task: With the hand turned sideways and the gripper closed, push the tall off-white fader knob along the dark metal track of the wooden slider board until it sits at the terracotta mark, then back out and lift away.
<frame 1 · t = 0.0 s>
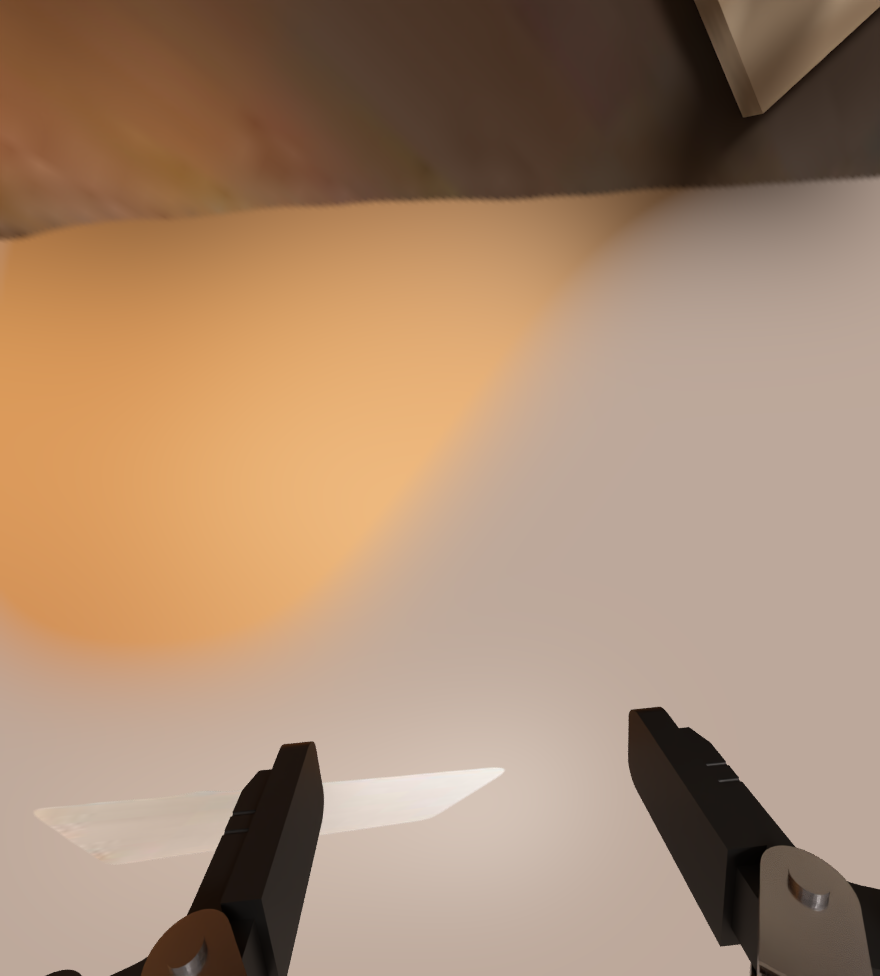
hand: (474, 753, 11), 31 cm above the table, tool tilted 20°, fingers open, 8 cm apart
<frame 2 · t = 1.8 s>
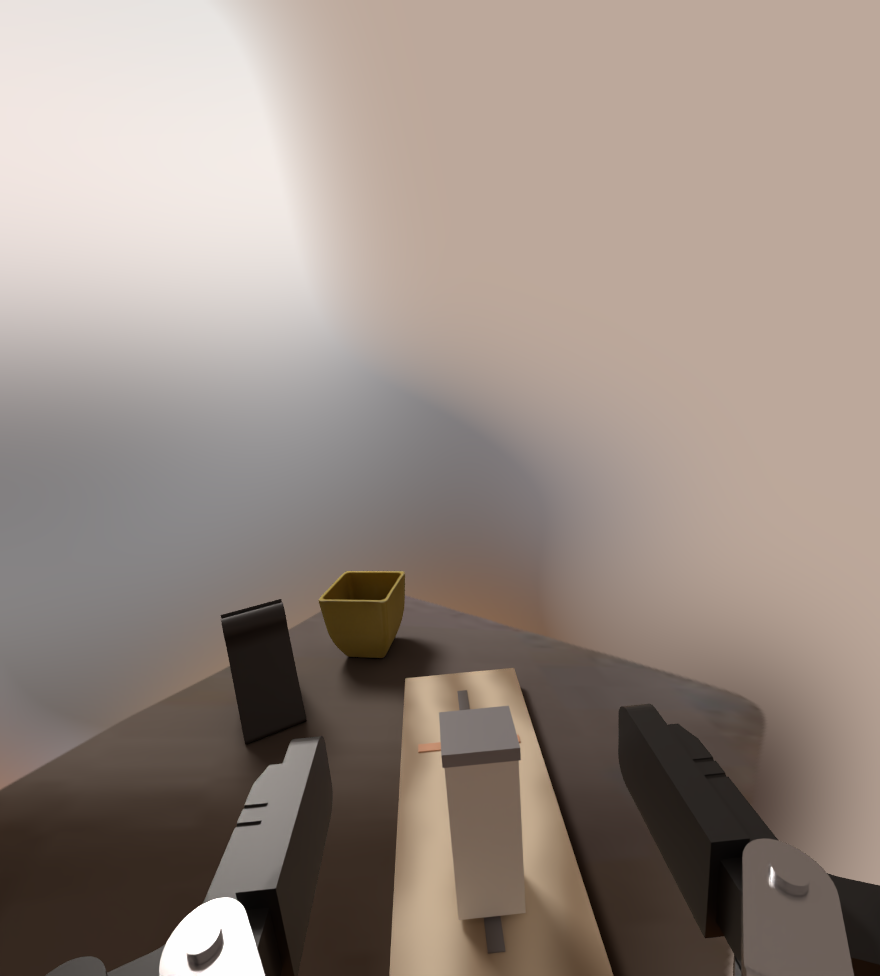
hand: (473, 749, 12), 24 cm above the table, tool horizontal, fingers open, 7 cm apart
flower pot: (371, 648, 60), on the table
phone stand: (271, 709, 50), on the table
wooden slider board: (475, 803, 36), on the table
fader knob: (483, 813, 27), point 8 cm above the table, slide at 0.0 cm
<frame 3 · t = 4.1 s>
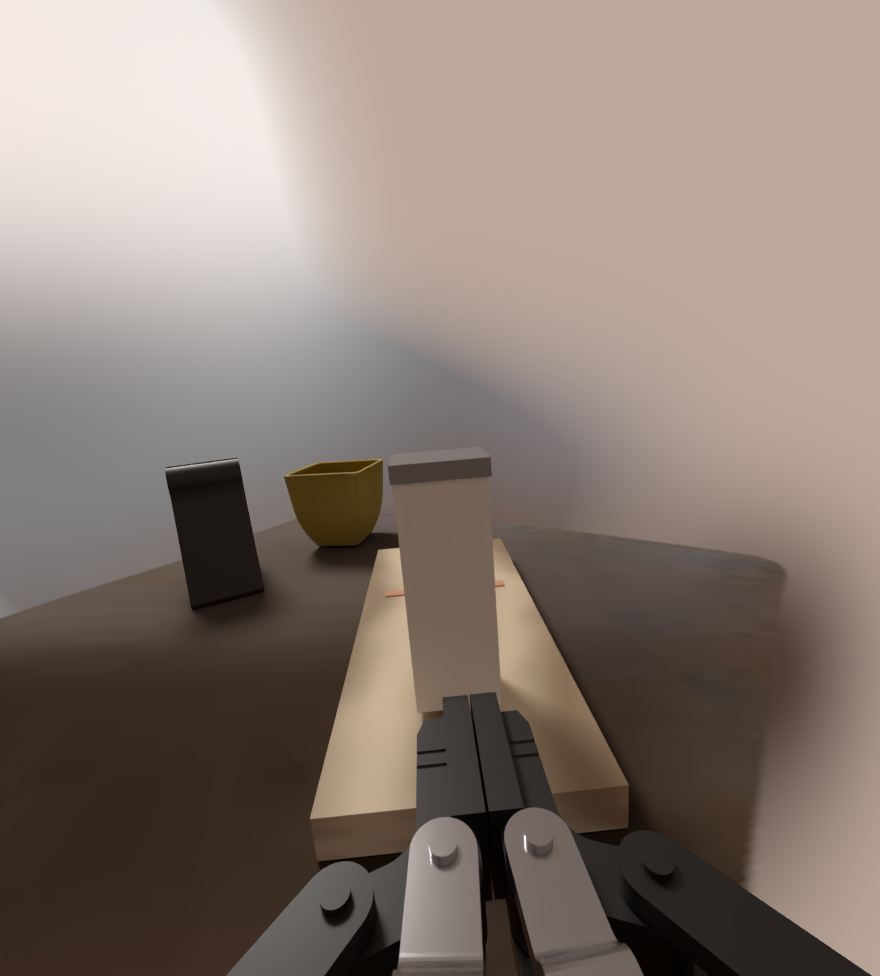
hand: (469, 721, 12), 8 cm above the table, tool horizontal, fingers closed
flower pot: (346, 541, 54), on the table
phone stand: (227, 585, 44), on the table
wooden slider board: (450, 641, 31), on the table
fader knob: (448, 578, 21), point 8 cm above the table, slide at 0.0 cm
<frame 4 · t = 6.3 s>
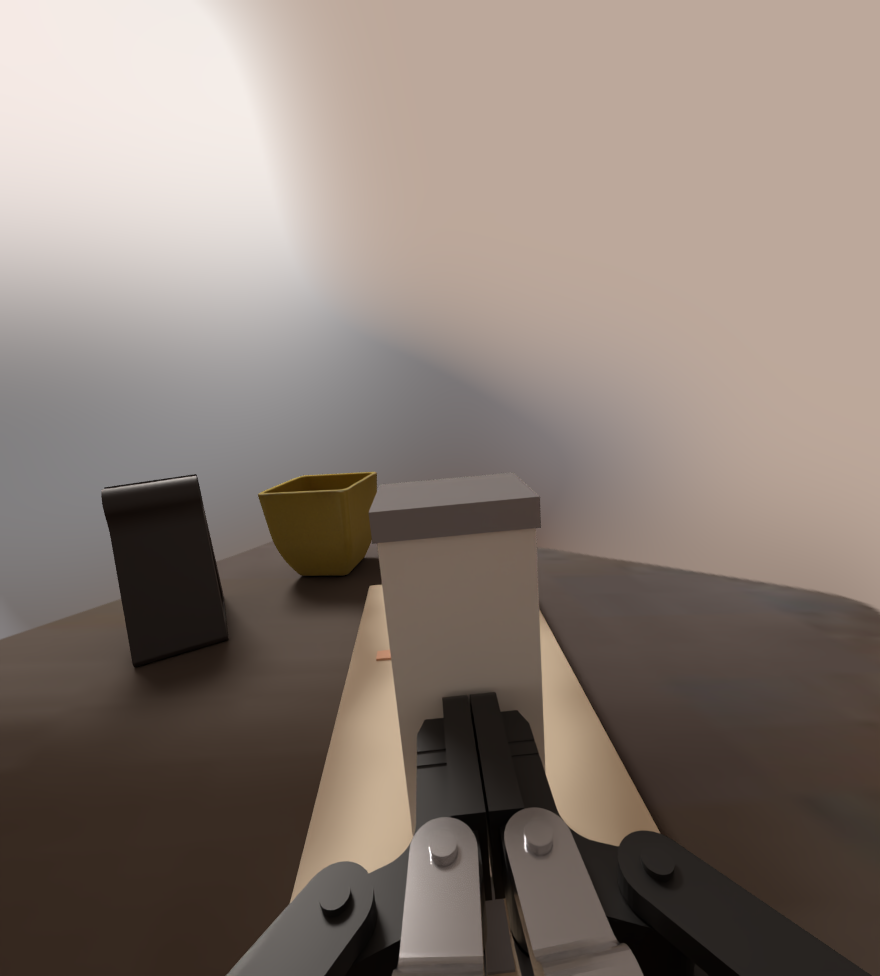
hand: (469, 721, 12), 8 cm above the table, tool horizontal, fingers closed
flower pot: (334, 568, 46), on the table
phone stand: (185, 630, 36), on the table
wooden slider board: (462, 728, 23), on the table
fader knob: (465, 676, 14), point 8 cm above the table, slide at 0.6 cm, touching gripper
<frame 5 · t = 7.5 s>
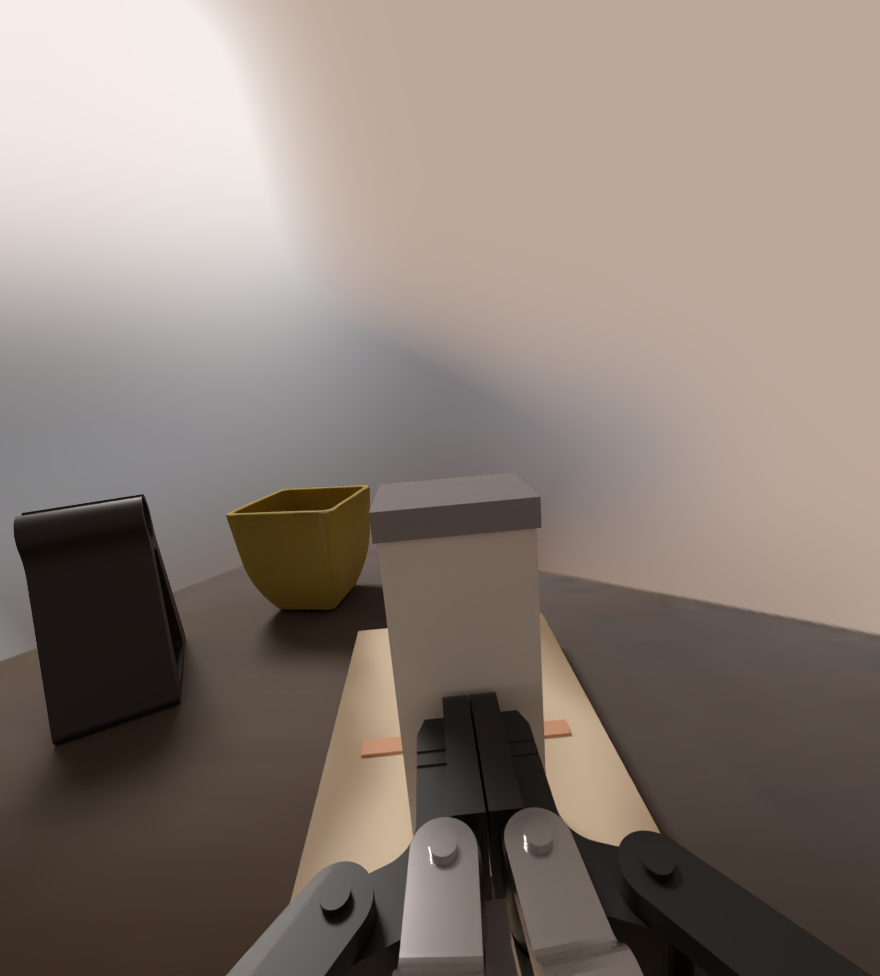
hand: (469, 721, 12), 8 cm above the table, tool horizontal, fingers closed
flower pot: (319, 599, 39), on the table
phone stand: (132, 685, 29), on the table
wooden slider board: (480, 871, 16), on the table
fader knob: (465, 676, 14), point 8 cm above the table, slide at 7.5 cm, touching gripper
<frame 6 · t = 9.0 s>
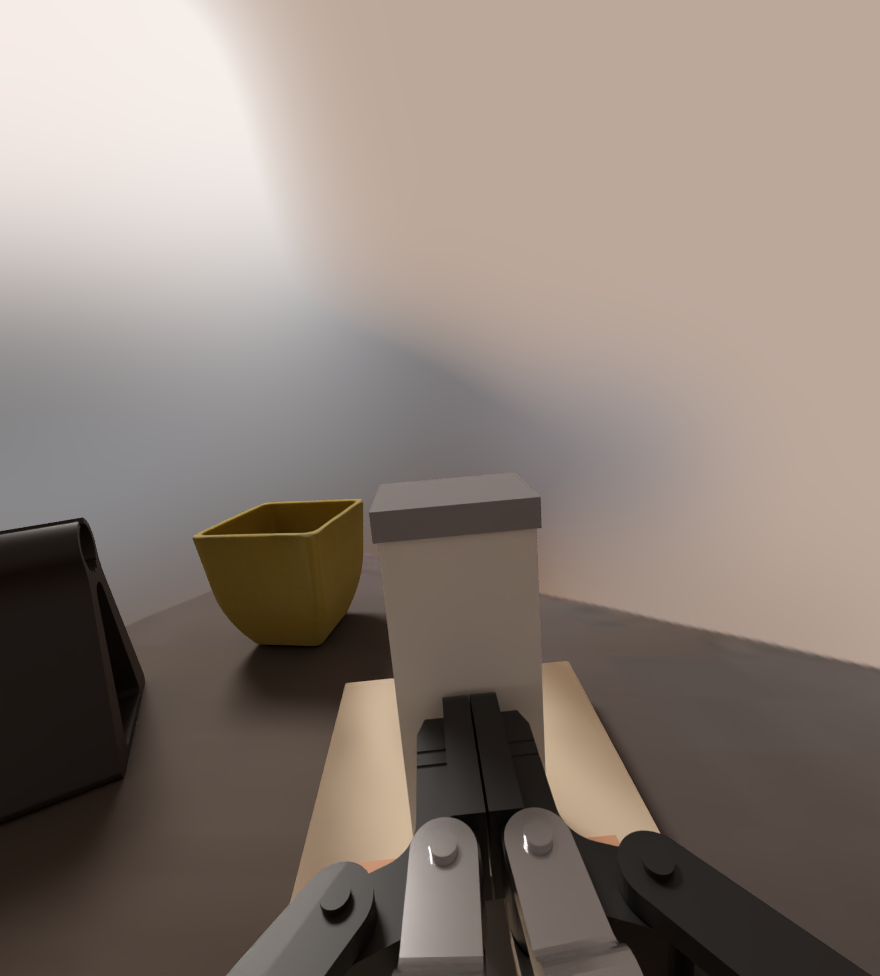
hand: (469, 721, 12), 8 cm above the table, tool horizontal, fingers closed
flower pot: (304, 630, 34), on the table
phone stand: (72, 747, 24), on the table
fader knob: (465, 675, 14), point 8 cm above the table, slide at 12.8 cm, touching gripper
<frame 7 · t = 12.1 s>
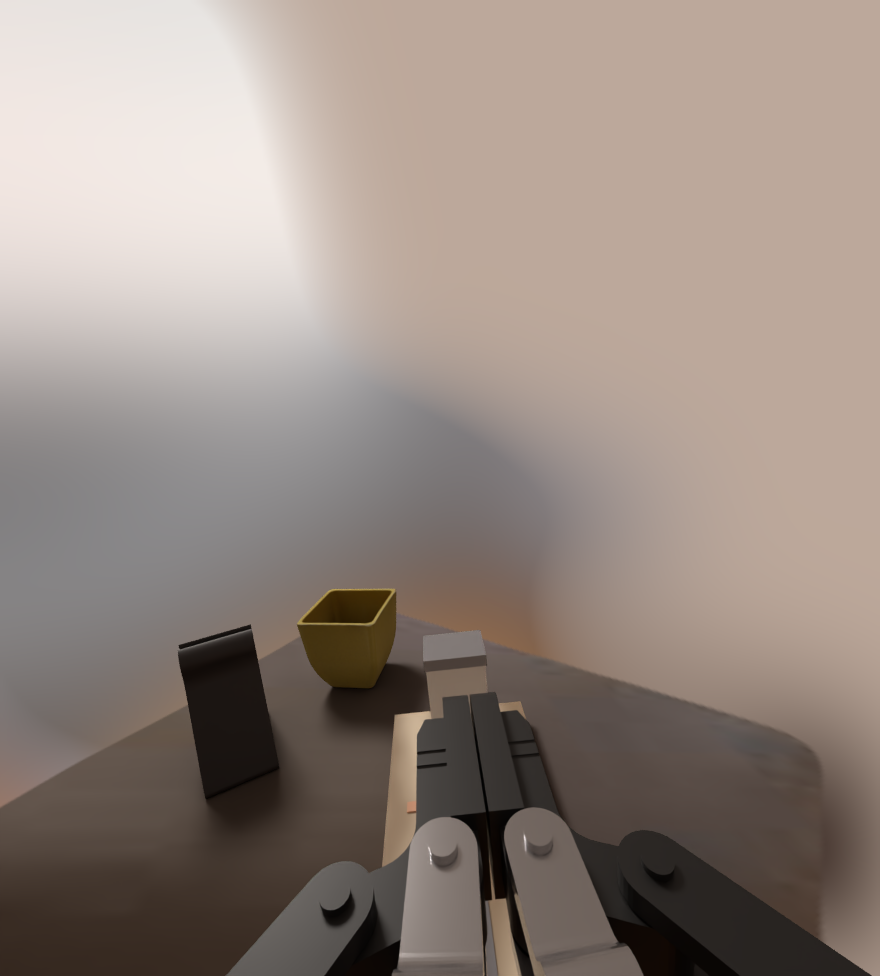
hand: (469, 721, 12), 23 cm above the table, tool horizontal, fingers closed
flower pot: (359, 676, 53), on the table
phone stand: (240, 752, 43), on the table
wooden slider board: (476, 880, 30), on the table
fader knob: (460, 717, 33), point 8 cm above the table, slide at 13.0 cm
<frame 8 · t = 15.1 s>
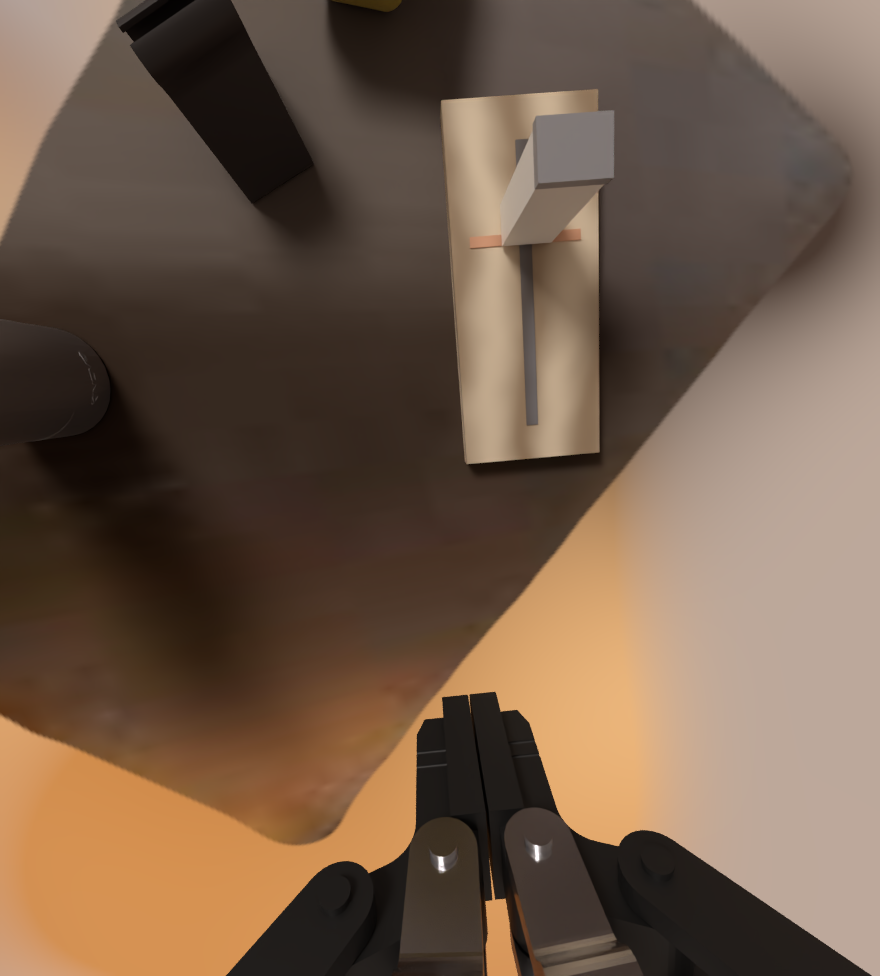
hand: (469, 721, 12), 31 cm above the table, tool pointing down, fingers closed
phone stand: (252, 130, 36), on the table
wooden slider board: (521, 296, 39), on the table
fader knob: (546, 192, 30), point 8 cm above the table, slide at 13.0 cm
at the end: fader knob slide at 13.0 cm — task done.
